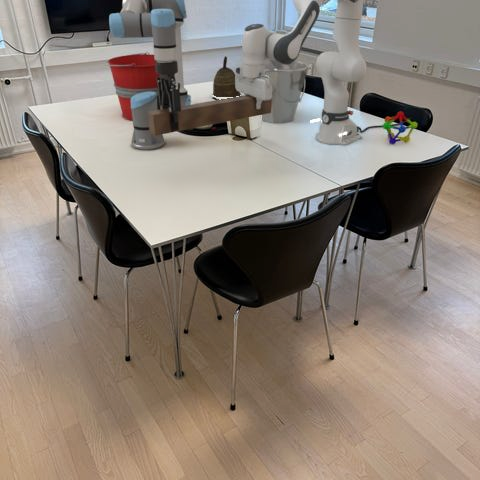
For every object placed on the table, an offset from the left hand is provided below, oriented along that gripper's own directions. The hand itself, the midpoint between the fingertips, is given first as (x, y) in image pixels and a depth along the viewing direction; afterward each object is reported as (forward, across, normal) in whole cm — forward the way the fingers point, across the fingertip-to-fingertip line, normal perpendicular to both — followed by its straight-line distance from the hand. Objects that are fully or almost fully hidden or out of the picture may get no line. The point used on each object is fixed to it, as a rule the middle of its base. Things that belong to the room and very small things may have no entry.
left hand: (171, 128), depth 162 cm
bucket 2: (+22, +42, -85) cm, 98 cm away
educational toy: (+21, -21, -107) cm, 111 cm away
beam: (+1, 0, -18) cm, 18 cm away
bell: (+22, +95, -87) cm, 131 cm away
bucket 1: (+21, +89, -28) cm, 96 cm away
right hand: (-2, 0, -37) cm, 37 cm away
